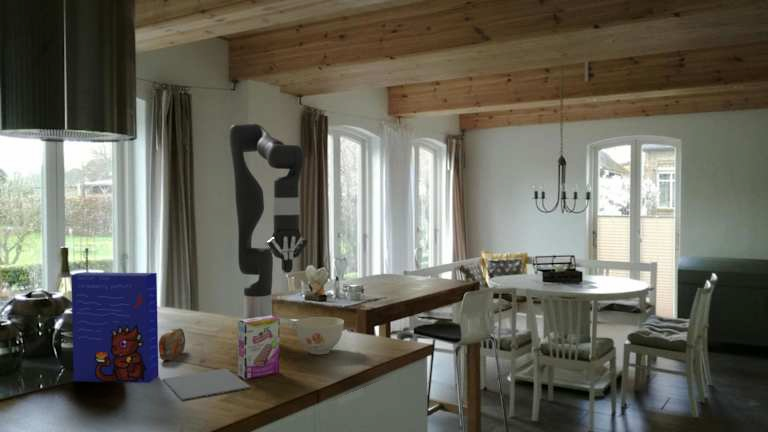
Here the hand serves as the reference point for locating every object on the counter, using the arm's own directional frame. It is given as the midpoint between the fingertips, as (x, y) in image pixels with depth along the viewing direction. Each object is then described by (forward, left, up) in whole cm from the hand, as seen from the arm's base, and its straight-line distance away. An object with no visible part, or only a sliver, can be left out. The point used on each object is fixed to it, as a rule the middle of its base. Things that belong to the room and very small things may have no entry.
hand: (287, 272), depth 181 cm
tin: (+25, -34, -29) cm, 51 cm away
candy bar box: (+9, 0, -29) cm, 31 cm away
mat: (+24, 0, -29) cm, 38 cm away
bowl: (-17, -13, -29) cm, 36 cm away
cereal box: (+44, -19, -29) cm, 56 cm away
